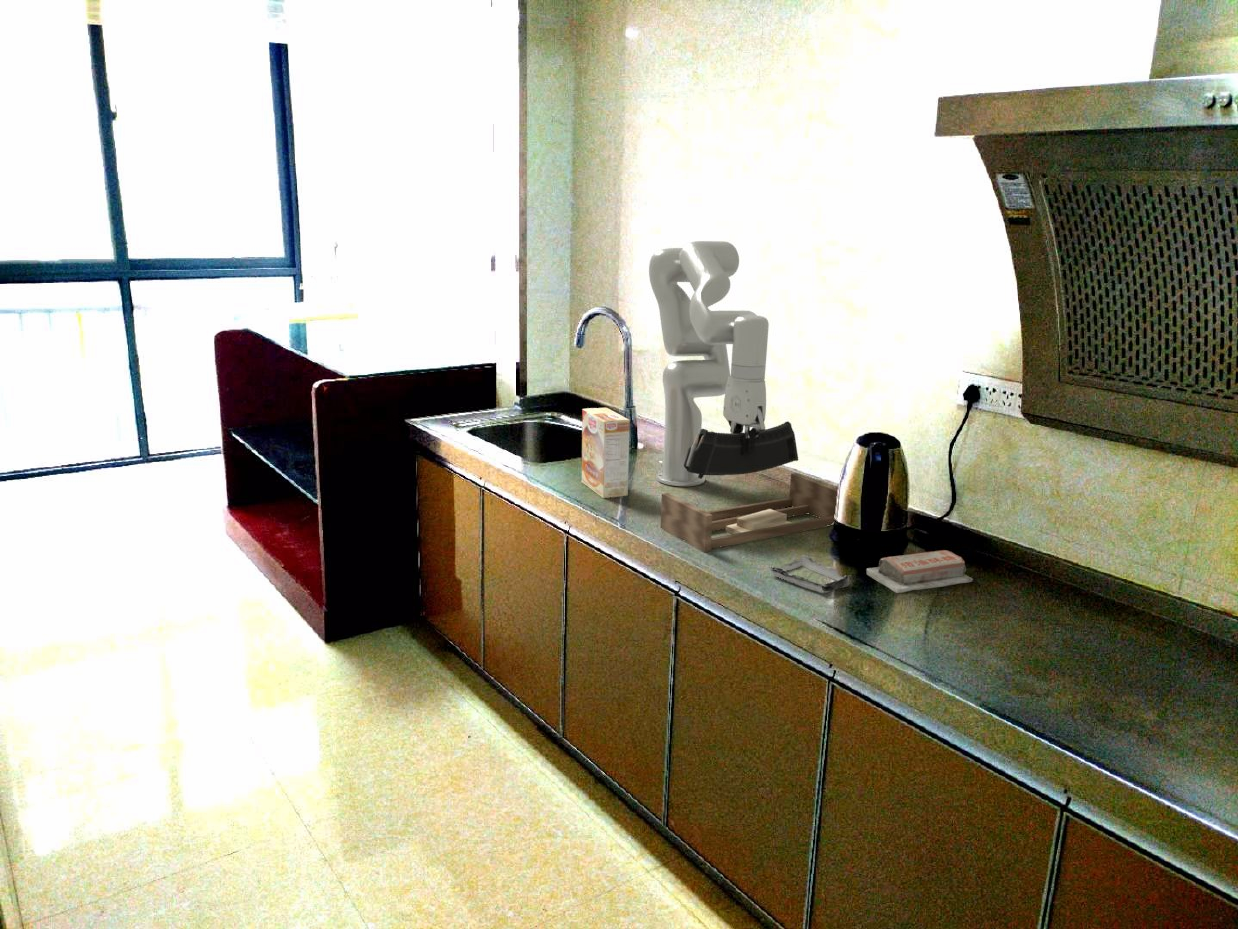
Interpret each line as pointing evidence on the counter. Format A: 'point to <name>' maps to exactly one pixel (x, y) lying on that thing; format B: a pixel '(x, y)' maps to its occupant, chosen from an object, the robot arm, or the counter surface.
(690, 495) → the counter surface
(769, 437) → the magazine
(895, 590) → the packaged product
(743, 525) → the offcut stack
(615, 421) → the coffeecake box
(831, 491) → the walnut rack
